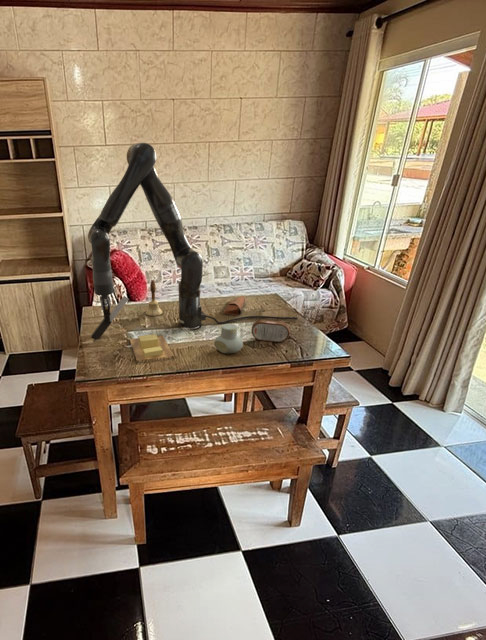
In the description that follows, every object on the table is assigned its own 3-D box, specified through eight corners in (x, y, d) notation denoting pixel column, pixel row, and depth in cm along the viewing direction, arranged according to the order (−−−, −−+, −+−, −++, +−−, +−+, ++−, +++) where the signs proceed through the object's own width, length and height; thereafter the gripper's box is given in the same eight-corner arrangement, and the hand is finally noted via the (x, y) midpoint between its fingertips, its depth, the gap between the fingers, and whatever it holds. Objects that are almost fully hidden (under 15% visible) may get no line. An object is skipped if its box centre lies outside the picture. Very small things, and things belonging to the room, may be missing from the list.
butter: (156, 342, 164) (155, 334, 162) (158, 347, 160) (158, 339, 158) (139, 344, 163) (138, 336, 161) (141, 349, 159) (140, 341, 157)
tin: (289, 341, 163) (291, 321, 159) (288, 344, 161) (291, 324, 157) (251, 337, 168) (252, 318, 164) (250, 340, 165) (251, 320, 161)
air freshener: (210, 348, 160) (211, 325, 155) (225, 343, 164) (226, 319, 159) (230, 358, 152) (232, 333, 147) (246, 352, 156) (247, 327, 151)
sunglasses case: (228, 301, 206) (235, 290, 203) (239, 308, 206) (247, 297, 203) (222, 313, 191) (230, 302, 188) (235, 321, 191) (243, 310, 188)
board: (162, 337, 170) (162, 335, 170) (173, 358, 153) (173, 355, 153) (129, 341, 168) (129, 339, 168) (137, 363, 151) (136, 360, 150)
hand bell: (144, 311, 199) (142, 278, 191) (160, 309, 201) (159, 277, 193) (147, 316, 192) (145, 283, 184) (164, 314, 194) (163, 281, 186)
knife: (97, 341, 169) (91, 337, 168) (97, 339, 171) (90, 335, 170) (129, 299, 164) (122, 295, 162) (128, 298, 165) (122, 293, 164)
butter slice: (160, 346, 156) (162, 349, 153) (160, 350, 157) (162, 354, 154) (142, 349, 154) (144, 352, 151) (142, 353, 155) (145, 357, 152)
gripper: (114, 285, 154) (118, 328, 162) (110, 275, 166) (114, 316, 174) (94, 287, 152) (99, 330, 161) (92, 277, 164) (97, 317, 173)
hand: (107, 322), depth 167 cm, fingers closed on knife, 2 cm apart
